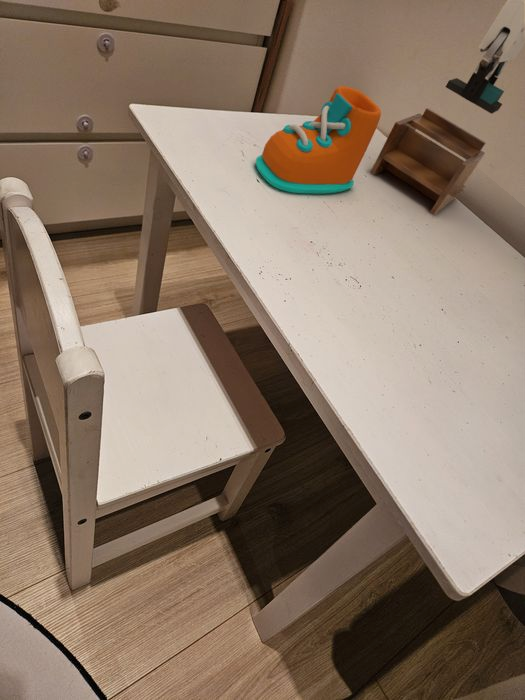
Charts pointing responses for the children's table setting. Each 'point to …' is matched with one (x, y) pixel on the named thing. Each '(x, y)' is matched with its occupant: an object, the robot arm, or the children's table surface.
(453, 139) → the shoe rack
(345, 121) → the toy shoe
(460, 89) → the teal two-tone block
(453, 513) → the children's table surface
